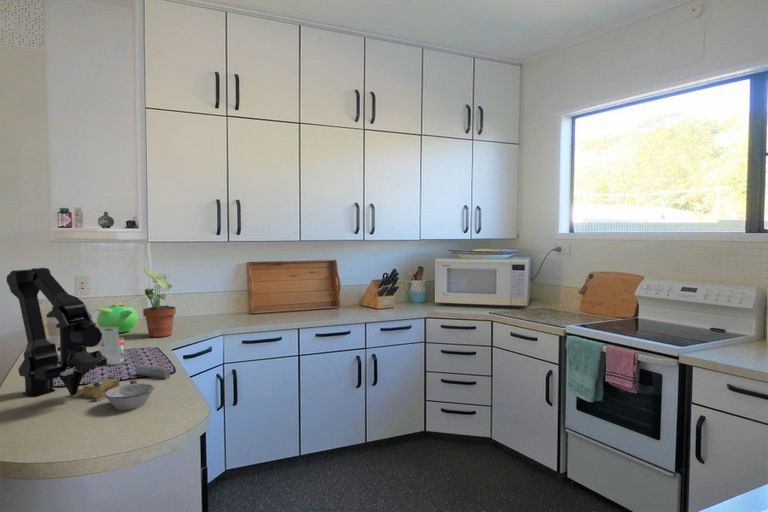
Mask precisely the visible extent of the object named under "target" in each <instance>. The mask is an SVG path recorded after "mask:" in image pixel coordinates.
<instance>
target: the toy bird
mask: <svg viewBox="0 0 768 512" xmlns="http://www.w3.org/2000/svg"><path fill="white" fill-rule="evenodd" d="M96 311H98V315H97V319H96V321H97V326H98V328H99V327H119V334H120V333H125V332H128V331H130V330H132V329H134V328H135V326H136V325H137V324H138V321H139V315H138V312H137V311H136V309H135V308H133V307H131V306H129V305H125V304H122V302H116V303H115V304H112V305H109V306H107V307H99V308H96ZM105 331H113V329H109V328H108V329H105Z"/></svg>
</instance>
